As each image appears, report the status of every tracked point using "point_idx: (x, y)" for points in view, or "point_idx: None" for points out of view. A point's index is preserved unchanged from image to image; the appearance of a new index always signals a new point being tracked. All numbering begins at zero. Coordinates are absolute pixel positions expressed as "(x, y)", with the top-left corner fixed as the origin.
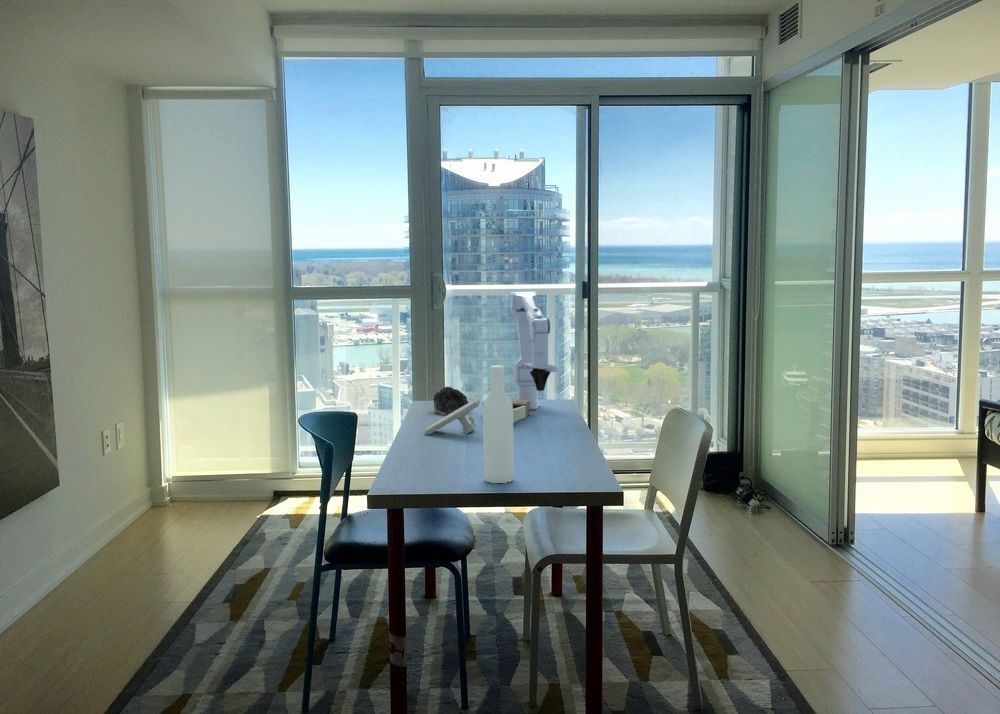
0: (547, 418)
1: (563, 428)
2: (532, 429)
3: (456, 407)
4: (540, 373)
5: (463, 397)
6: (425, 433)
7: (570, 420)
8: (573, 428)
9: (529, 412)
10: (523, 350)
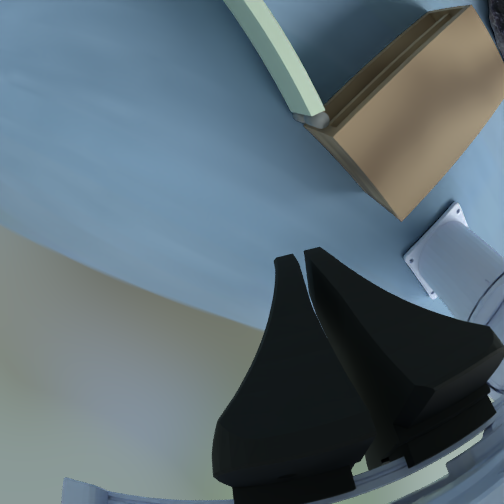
0: (231, 208)
1: (22, 177)
2: (55, 46)
3: (502, 3)
4: (215, 444)
5: None
6: None
7: (142, 270)
8: (16, 211)
9: (363, 188)
10: None
